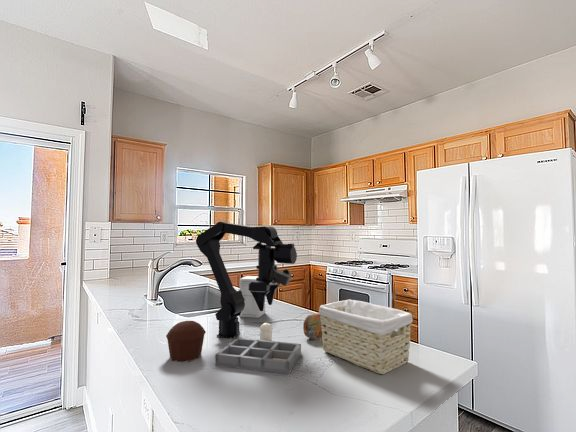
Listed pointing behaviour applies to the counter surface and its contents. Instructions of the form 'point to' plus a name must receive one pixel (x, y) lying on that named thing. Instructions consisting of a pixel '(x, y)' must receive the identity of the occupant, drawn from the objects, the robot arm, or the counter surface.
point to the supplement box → (249, 299)
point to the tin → (313, 326)
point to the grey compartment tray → (259, 355)
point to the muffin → (185, 341)
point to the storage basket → (366, 334)
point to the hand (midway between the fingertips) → (266, 307)
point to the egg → (266, 332)
